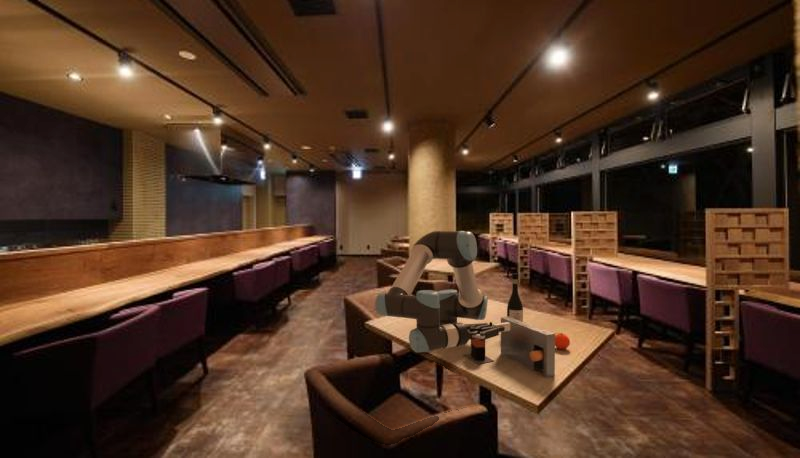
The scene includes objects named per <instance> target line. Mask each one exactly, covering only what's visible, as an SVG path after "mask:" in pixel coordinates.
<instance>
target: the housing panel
mask: <svg viewBox="0 0 800 458" xmlns="http://www.w3.org/2000/svg"><path fill="white" fill-rule="evenodd" d="M505 322H509V323H510V331H504V332H500V355H502V356H503V357H506V358H508V359H510V360H512V361H514V362H515V363H517V364H520V365H522V367H526V368H527V369H529V370H531V371H533V372H536V371H540V370H541V371H543V377H545V378H546V379H547V378H551V377H554V376H555V373H556V372H555V371H556V370H555V368H556V367H555V366H556V363H555V362H556V346H555V335H556V334H555V333H556V332H555V333H554V332H552V331H549V330H545V328H541V327H538V326H535V325H533V324H530V323H527V322H524V321H523V322H522V321H519V320H516V319H513V318H511V317H507V316H503V317H500V323H505ZM537 350H544V360H539V361H532V360H531V358H530V352H532V351H537Z"/></svg>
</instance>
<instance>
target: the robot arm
mask: <svg viewBox="0 0 800 458" xmlns="http://www.w3.org/2000/svg"><path fill="white" fill-rule="evenodd" d="M477 245H478V244H477V240H476V237H475V235H474V234H473V232H471V231H465V230H459V231H457V230H454V231H453V230H452V231H451V230H450V231H448V230H445V231H443V230H435V231H431V232H428V233H426V234H425V235H423V236H422V237H420V238H419V239H418V240H417V241H416V242H415V243H414V244H413V245H412V248H411V249H410V255H409V257H408V259H407V260H406V262H405V263H404V266H403V267H402V268H401V270H400V272H399V273H398V274H397V277H396V278H395V280H394V281H393V284H392V285H391V287H390V289H388V292H387V293H386V292H381V293H378V294H377V296H376V298H375V301H374V308H375V311H376V314H378V315H380V316H384V317H392V318H400V319H401V318H402V319H403V318H405V319H411V320H415V321H416V326H415V327H416V328H413V329H412V328H411V330H409V335H408V342H409V345H410V348H411V350H412V351H413V352H415V353H429V352H431V351H437V350H443V349H445V350H447V349H448V348H453V347H461V346H466V345H467V344H468V342H469V341H471V340H474V339H476V338H480V341H484V340H485V341H486V340H488V339H492V338H494V337H497V336H498V337H499V335H500V333H501V332H504V331H510V323H509V322H505V323H501V322H498V323H494V324H493V322H492V321H489V324H488V322H480V323H479V322H478V323H463V322H458V318H461V319H469V320H476V321H484V320H485V318H486V317H487V313H488V312H487V311H488V310H487V309H488V302H489V301H488V300H489V299H488V296H487V295H485V294H484V295H483V292H482V291H481V290H480V289H479V288H478V283H477V279H476V274H475V269H474V265H473V262H474V260H476V258H477V255H478V246H477ZM436 259H437V260H438V259H439V260H446V261H447V264H448V265H449V266H450V267H452V269H453V273H454V277H455V281H456V285H457V288H458V290H456V289H443V290H439V291H436V290H432V289H427V290H426V289H423V290H422V289H421V290H418V291H416V294H415V295H412V293H413V291H414V290H415V288H416V286H417V284H418V282H419V280H420V278H422V277H421V276H422V274H423V273H424V271H425V269H426V267H427V265H428V264H430V263H431V262H432V261H433V260H436Z"/></svg>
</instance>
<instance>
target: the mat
mask: <svg viewBox="0 0 800 458" xmlns="http://www.w3.org/2000/svg"><path fill="white" fill-rule="evenodd" d="M462 356H463V357H465V358H467V359H468V360H470V361H472V362H473V363H475V364H476V365H478V366H479V365H482V364H483V365H485V364H488V363H492V362H494V359H492V358H490V357H488V356H486V355H485V360H477V361H476V360H475V359H474V358H473V357H472V355H471V352H470V353H464V354H462Z"/></svg>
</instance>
